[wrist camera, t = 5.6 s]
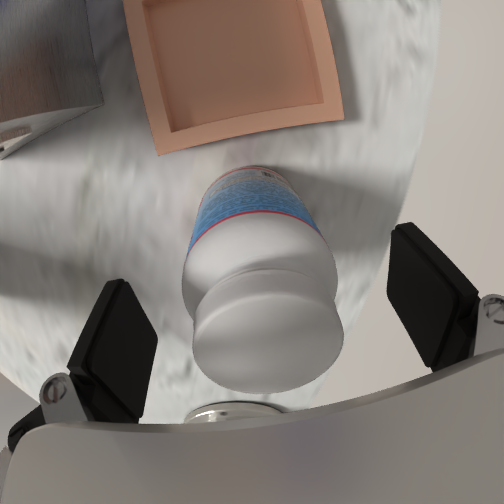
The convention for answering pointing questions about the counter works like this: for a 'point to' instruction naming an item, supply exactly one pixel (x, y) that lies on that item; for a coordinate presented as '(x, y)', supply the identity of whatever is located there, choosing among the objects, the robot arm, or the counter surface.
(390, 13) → the counter surface
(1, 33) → the unit
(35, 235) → the counter surface
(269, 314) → the pill bottle
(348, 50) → the counter surface
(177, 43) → the tray
